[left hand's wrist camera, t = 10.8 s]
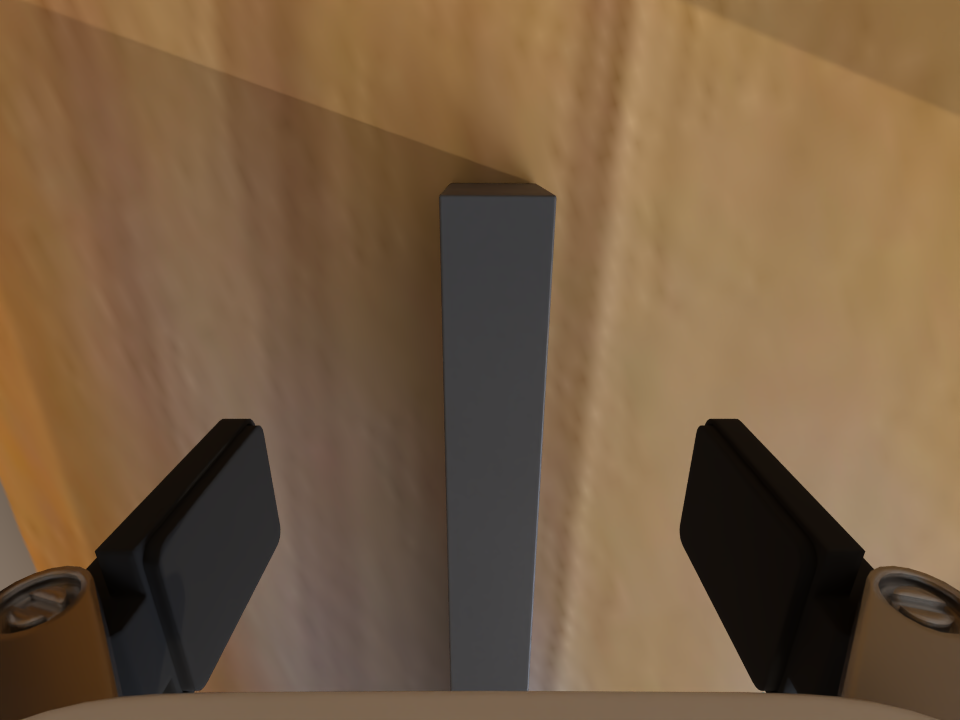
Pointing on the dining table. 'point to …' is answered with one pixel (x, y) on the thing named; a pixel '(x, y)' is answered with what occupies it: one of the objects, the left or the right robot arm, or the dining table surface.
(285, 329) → the dining table surface
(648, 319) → the dining table surface
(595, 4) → the dining table surface
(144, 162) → the dining table surface
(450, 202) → the beam
